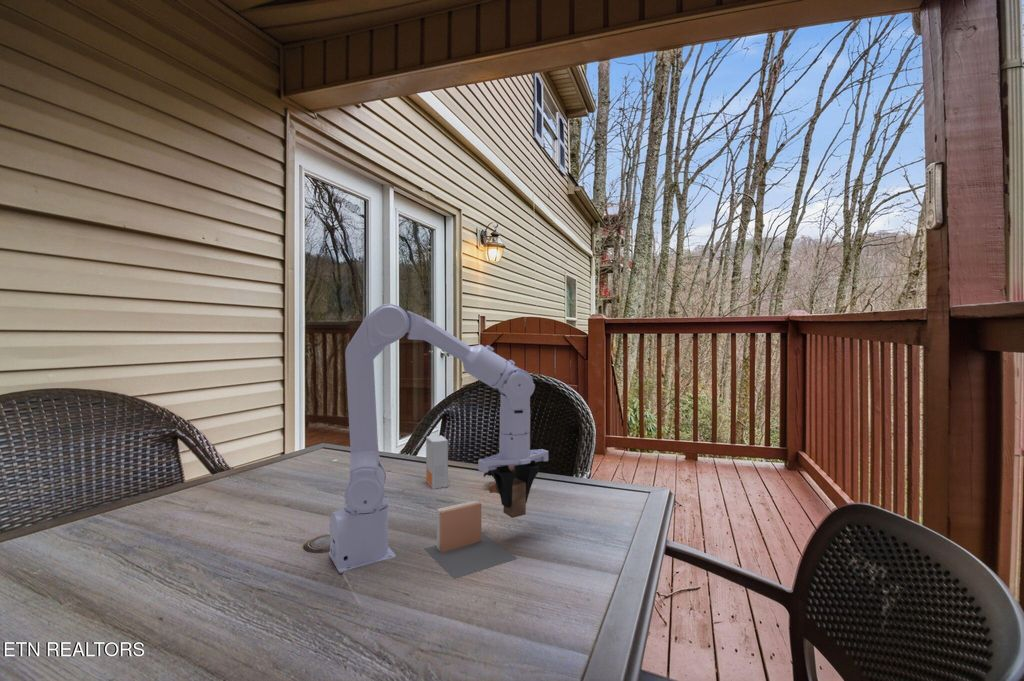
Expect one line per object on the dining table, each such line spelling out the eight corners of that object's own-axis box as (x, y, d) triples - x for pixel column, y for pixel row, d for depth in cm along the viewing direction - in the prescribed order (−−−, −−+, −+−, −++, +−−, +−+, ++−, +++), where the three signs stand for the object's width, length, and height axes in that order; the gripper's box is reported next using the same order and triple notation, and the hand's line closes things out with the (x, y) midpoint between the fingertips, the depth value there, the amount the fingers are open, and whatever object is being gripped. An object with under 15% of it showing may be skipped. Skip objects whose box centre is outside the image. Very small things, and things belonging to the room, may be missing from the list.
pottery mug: (477, 496, 113) (476, 462, 117) (494, 502, 121) (493, 469, 125) (523, 489, 109) (521, 454, 113) (538, 495, 117) (535, 462, 121)
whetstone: (441, 552, 82) (441, 512, 82) (436, 548, 84) (436, 509, 84) (481, 541, 87) (481, 503, 87) (476, 537, 88) (476, 500, 88)
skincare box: (425, 482, 122) (425, 436, 121) (441, 480, 124) (441, 434, 123) (431, 489, 116) (431, 441, 116) (448, 487, 118) (448, 439, 118)
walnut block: (512, 517, 86) (512, 485, 86) (503, 512, 89) (503, 480, 88) (525, 514, 88) (525, 482, 88) (516, 509, 90) (516, 478, 90)
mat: (454, 582, 74) (454, 578, 74) (424, 551, 84) (424, 548, 84) (517, 561, 80) (517, 558, 80) (482, 535, 90) (482, 532, 90)
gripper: (492, 441, 81) (492, 519, 81) (558, 431, 89) (557, 502, 89) (472, 433, 86) (472, 506, 87) (536, 424, 94) (535, 491, 95)
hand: (514, 503), depth 88 cm, fingers closed on walnut block, 3 cm apart
